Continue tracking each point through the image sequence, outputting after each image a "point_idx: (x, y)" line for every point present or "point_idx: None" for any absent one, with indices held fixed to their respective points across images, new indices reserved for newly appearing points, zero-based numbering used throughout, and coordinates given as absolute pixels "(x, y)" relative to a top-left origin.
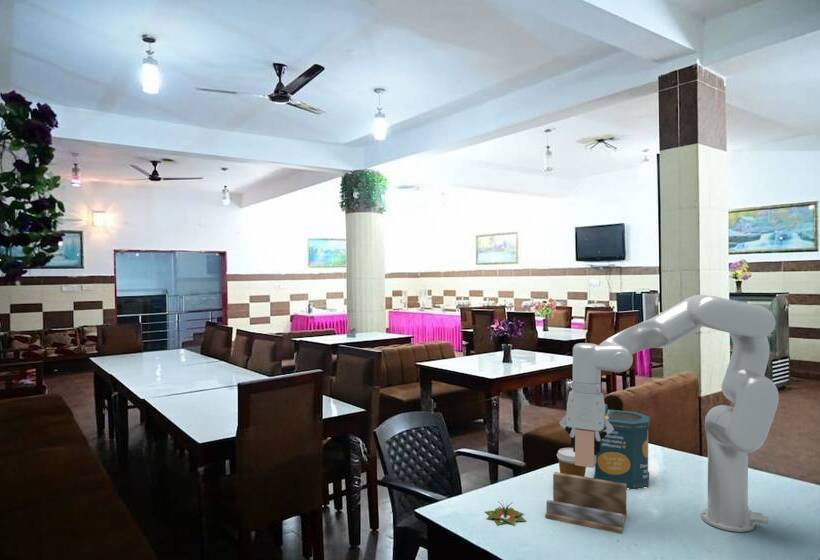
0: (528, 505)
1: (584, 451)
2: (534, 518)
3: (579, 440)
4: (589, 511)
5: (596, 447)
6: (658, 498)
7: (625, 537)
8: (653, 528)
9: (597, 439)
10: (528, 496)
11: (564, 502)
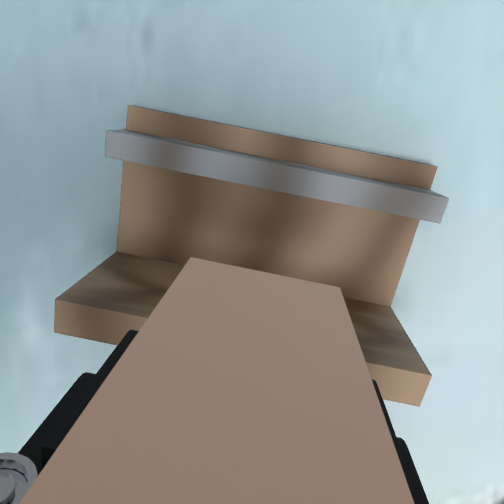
0: (491, 268)
1: (254, 337)
2: (479, 148)
3: (327, 452)
4: (249, 158)
5: (93, 380)
6: (25, 427)
7: (119, 76)
8: (27, 189)
9: (11, 482)
10: (481, 349)
11: (345, 298)
